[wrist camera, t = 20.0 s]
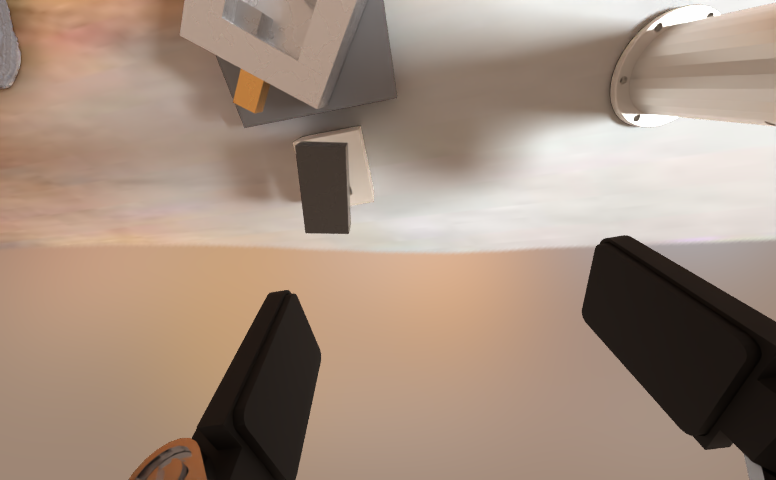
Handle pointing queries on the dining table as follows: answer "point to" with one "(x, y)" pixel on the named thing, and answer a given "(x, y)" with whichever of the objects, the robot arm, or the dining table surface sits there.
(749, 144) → the dining table surface
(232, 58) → the chuck
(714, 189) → the dining table surface
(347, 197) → the block
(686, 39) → the robot arm
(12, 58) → the food plate
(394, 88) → the grey flat slab
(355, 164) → the key stand
